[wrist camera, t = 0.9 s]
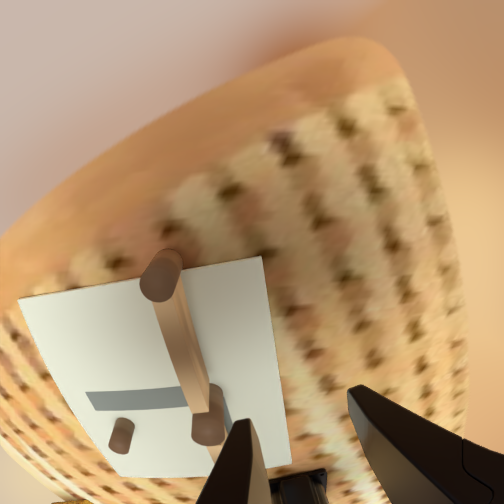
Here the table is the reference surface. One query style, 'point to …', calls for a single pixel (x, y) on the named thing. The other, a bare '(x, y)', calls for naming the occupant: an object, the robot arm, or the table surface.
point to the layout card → (163, 365)
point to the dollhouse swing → (74, 502)
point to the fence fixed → (203, 429)
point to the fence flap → (177, 326)
